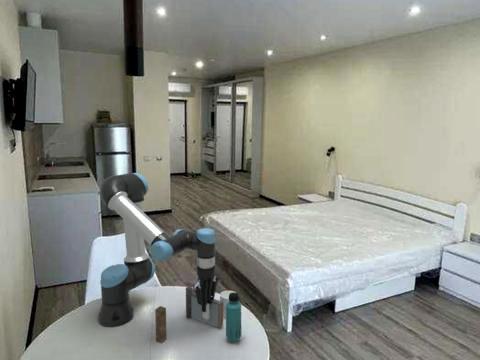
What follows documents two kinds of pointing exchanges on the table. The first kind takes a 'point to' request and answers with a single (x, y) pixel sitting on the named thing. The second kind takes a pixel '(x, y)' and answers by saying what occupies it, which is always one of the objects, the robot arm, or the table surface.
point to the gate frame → (161, 317)
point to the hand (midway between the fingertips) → (206, 317)
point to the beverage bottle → (233, 318)
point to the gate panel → (214, 311)
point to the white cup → (225, 300)
